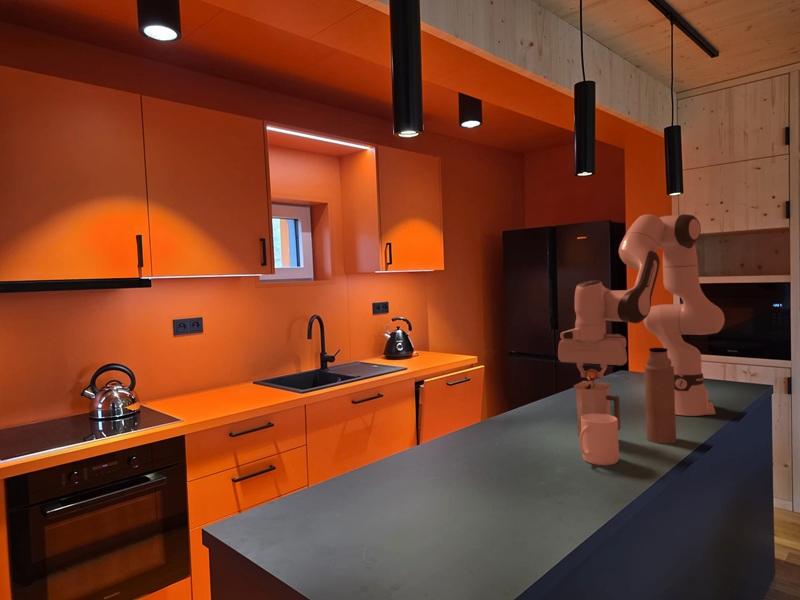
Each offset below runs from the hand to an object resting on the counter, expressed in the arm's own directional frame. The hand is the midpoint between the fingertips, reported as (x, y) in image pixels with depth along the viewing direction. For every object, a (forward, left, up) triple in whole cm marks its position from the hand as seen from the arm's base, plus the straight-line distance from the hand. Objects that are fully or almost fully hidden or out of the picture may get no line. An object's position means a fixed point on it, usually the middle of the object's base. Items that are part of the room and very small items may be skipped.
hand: (592, 377), depth 159 cm
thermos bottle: (-9, +17, -19) cm, 27 cm away
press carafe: (0, +2, -19) cm, 19 cm away
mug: (+18, +7, -20) cm, 28 cm away
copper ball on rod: (0, 0, -15) cm, 15 cm away
